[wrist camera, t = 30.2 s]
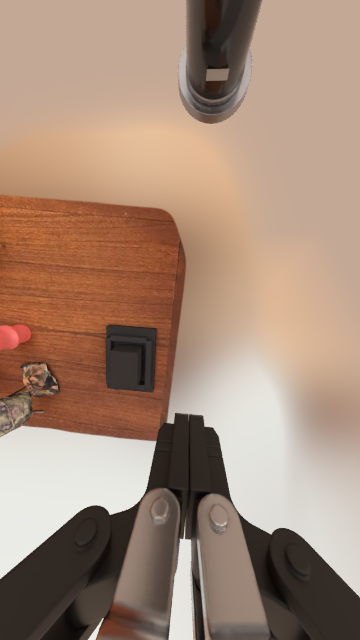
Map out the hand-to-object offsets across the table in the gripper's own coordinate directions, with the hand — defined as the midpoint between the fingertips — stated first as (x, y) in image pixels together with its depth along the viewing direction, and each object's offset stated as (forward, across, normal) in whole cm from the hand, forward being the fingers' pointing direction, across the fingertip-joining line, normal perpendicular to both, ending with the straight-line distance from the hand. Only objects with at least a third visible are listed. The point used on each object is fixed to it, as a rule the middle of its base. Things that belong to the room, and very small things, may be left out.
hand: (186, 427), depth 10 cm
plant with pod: (+27, +32, +17) cm, 45 cm away
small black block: (+26, +11, +9) cm, 30 cm away
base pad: (+27, +11, +9) cm, 31 cm away
